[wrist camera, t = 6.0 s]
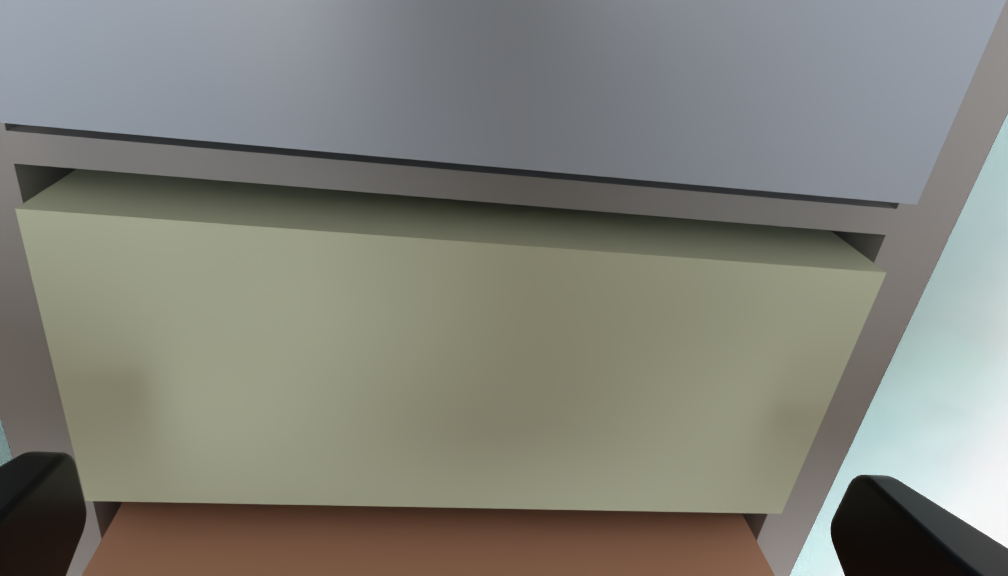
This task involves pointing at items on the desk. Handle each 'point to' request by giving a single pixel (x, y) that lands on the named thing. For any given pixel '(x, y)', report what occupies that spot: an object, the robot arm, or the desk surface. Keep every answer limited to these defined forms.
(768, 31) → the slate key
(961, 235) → the desk surface
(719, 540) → the terracotta key
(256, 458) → the sage key
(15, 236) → the pastel key tray
